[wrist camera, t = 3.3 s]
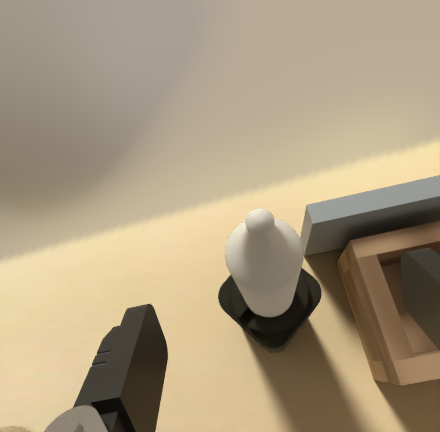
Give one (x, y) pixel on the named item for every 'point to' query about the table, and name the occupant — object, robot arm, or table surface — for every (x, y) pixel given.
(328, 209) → the backstop wall
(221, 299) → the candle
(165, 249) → the table surface
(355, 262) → the socket block
